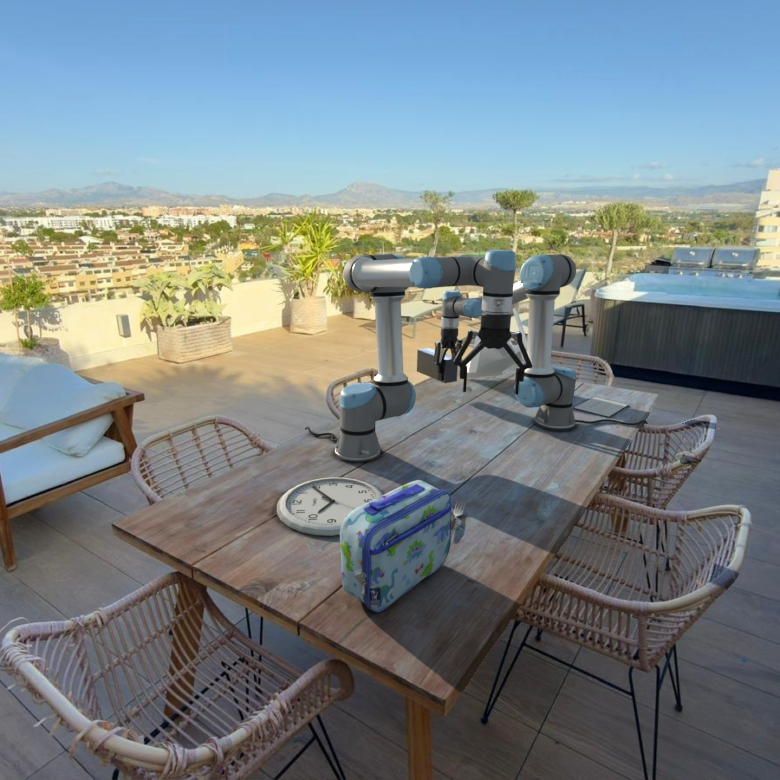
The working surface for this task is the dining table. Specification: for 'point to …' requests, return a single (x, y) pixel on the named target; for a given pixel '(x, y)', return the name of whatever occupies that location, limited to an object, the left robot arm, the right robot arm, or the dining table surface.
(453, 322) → the right robot arm
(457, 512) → the fork
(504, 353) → the white plastic object
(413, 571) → the lunch box
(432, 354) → the box
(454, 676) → the dining table surface
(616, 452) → the dining table surface
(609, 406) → the invitation card
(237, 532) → the dining table surface
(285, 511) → the wall clock
